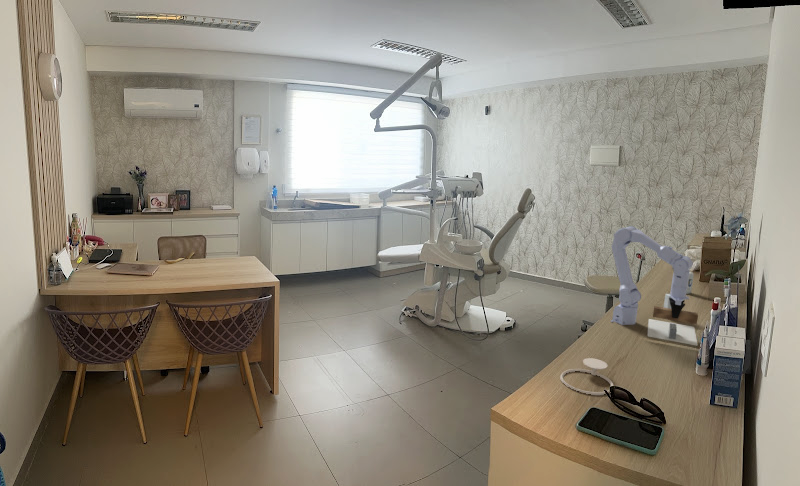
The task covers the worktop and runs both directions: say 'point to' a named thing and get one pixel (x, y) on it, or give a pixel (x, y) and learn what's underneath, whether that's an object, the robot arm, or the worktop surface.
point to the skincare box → (667, 301)
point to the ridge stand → (672, 332)
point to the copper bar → (683, 317)
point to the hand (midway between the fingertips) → (674, 316)
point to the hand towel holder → (594, 365)
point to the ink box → (690, 283)
